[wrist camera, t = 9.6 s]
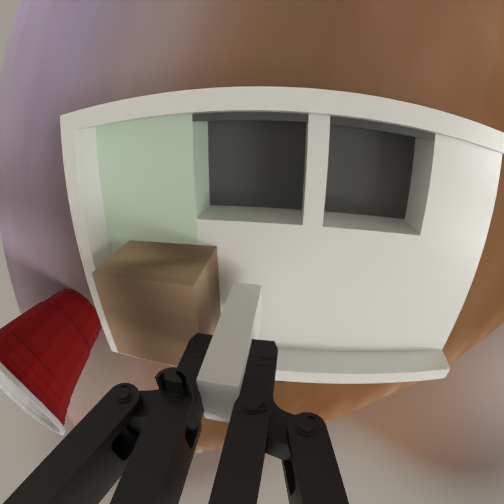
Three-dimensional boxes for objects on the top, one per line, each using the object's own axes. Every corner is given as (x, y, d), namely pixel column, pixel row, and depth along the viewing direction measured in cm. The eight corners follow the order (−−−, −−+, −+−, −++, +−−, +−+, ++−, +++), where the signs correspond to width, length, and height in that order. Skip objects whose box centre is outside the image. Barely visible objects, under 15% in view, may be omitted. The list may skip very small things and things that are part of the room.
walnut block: (217, 246, 15) (193, 286, 12) (221, 325, 18) (205, 371, 14) (129, 240, 16) (91, 272, 13) (144, 313, 18) (118, 352, 15)
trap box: (477, 131, 13) (524, 142, 8) (425, 333, 20) (444, 378, 15) (110, 111, 16) (60, 115, 11) (139, 311, 23) (111, 351, 18)
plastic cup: (43, 317, 26) (-16, 382, 16) (43, 246, 22) (-46, 317, 11) (115, 368, 27) (66, 450, 17) (132, 308, 23) (56, 416, 12)
